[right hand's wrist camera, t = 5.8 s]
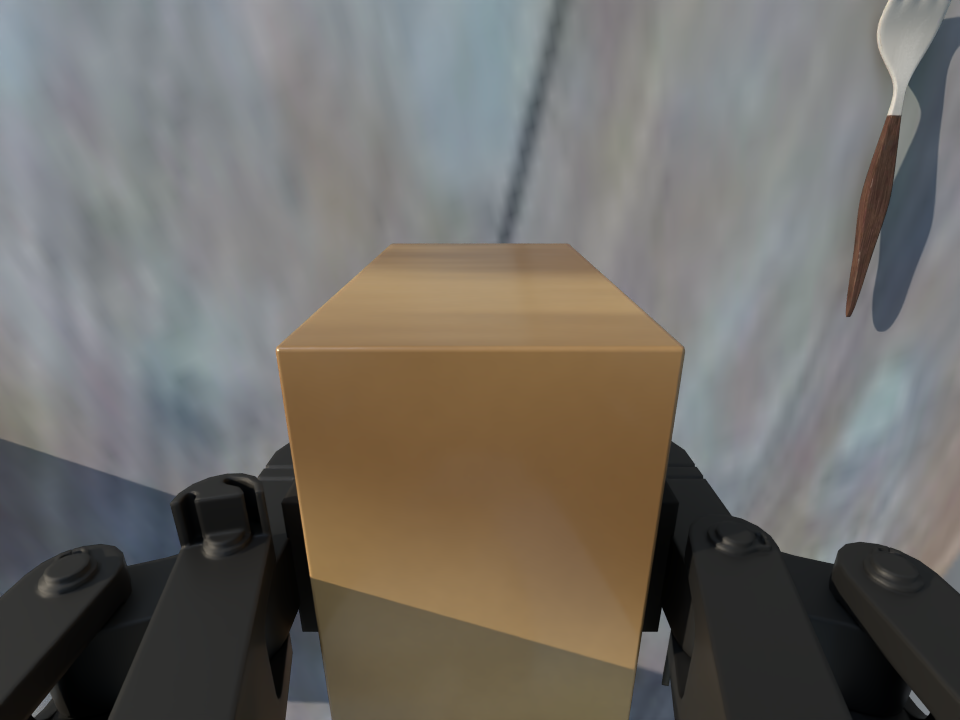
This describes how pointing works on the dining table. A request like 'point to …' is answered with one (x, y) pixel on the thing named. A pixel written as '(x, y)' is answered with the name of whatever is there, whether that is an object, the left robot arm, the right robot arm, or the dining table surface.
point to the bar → (480, 482)
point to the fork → (891, 120)
